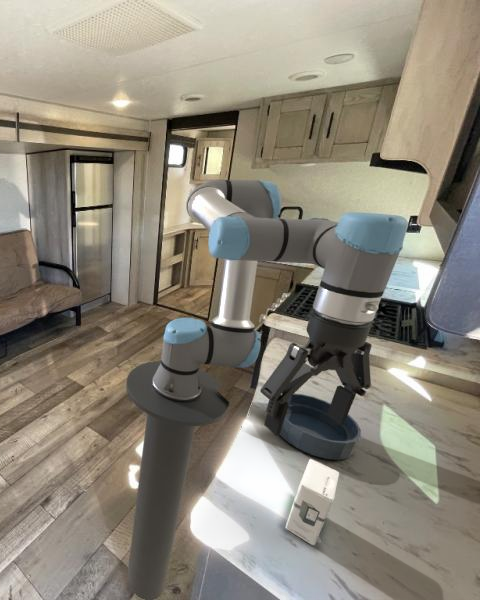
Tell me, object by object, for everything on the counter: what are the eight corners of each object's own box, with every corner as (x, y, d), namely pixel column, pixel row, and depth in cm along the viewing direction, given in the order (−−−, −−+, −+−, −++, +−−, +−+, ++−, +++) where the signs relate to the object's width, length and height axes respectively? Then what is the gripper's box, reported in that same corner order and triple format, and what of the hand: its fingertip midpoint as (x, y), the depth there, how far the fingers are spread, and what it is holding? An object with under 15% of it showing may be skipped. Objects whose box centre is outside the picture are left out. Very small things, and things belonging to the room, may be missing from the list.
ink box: (293, 498, 68) (309, 456, 63) (322, 514, 64) (340, 471, 60) (284, 528, 62) (300, 484, 57) (314, 547, 59) (334, 502, 54)
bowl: (255, 415, 91) (260, 398, 89) (307, 406, 96) (312, 390, 93) (311, 468, 75) (319, 448, 73) (371, 455, 79) (380, 436, 77)
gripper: (293, 332, 44) (259, 451, 51) (430, 320, 49) (381, 430, 57) (254, 311, 51) (229, 419, 58) (378, 303, 56) (340, 403, 63)
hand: (304, 424), depth 57 cm, fingers open, 13 cm apart
